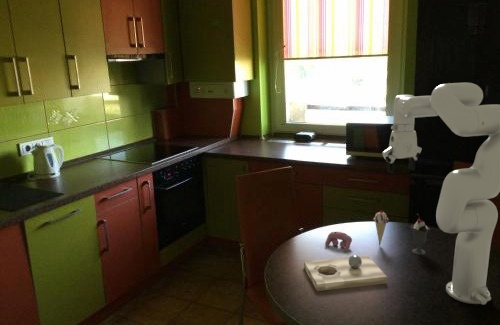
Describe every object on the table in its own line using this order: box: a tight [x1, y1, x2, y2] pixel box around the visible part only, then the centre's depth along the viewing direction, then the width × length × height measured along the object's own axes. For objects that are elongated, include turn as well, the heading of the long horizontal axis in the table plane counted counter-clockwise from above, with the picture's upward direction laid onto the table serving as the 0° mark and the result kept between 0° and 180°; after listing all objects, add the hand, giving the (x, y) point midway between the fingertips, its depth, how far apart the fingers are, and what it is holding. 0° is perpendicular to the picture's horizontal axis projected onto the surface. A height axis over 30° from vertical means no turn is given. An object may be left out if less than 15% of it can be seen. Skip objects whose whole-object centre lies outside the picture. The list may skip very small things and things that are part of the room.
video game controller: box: [324, 231, 353, 252], centre depth 174 cm, size 10×5×7 cm, turn 58°
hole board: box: [303, 254, 388, 292], centre depth 153 cm, size 16×24×2 cm, turn 99°
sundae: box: [410, 213, 431, 256], centre depth 166 cm, size 7×7×15 cm
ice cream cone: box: [373, 210, 389, 247], centre depth 172 cm, size 6×6×15 cm
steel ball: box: [348, 254, 362, 268], centre depth 152 cm, size 4×4×4 cm
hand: (401, 171), depth 172 cm, fingers open, 9 cm apart
